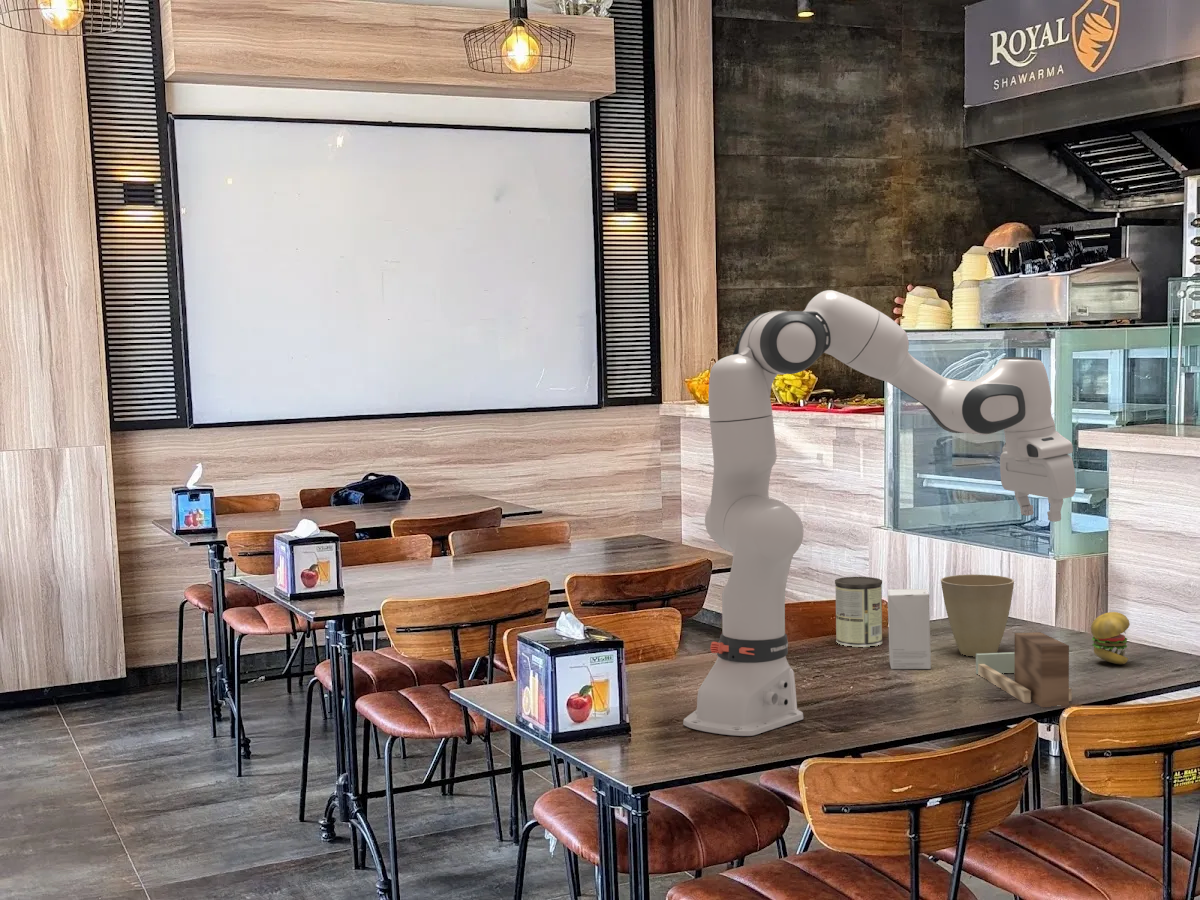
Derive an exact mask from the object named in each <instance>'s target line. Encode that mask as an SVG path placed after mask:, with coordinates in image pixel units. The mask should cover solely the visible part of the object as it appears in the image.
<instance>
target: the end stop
mask: <svg viewBox="0 0 1200 900" xmlns="http://www.w3.org/2000/svg"><path fill="white" fill-rule="evenodd" d="M978 664H985V665H987V666H989V667H990V668H992V669H994V670H996V671H997V672H999V673H1001V674H1002V673H1003V675H1005V674H1004V673H1014V672H1015V651H1013V652H1010V651H1009V652H997V653H981V654H976V657H975V674H976V675H977V674H978Z"/></svg>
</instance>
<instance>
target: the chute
mask: <svg viewBox="0 0 1200 900" xmlns="http://www.w3.org/2000/svg"><path fill="white" fill-rule="evenodd" d="M979 675H980V676H979ZM978 676H979V677H981V678H982V677H983V678H982V679H984V678H985V679H984V680H986V679H987V680H988V681H987V680H986V681H987V682H989V683H991V684H992V685H994V686H995V685H996V686H995V687H997V688H998V689H1000V688H1001V689H1000V690H1002V691H1004V692H1005V691H1006V692H1005V693H1008V695H1010V696H1012V697H1014V698H1015V699H1017V700H1018V701H1020V702H1022V703H1024V704H1031V702H1032V701H1031V691H1030V690H1028V689H1027V688H1025V687H1023V686H1021V685H1020V684H1018V683H1016V682H1015V681H1014V680H1013V679H1012V678H1009V677H1007V676H1006V675H1005V674H1001V673H999V672H997V671H996V670H994V669H992V668H990V667H989V666H987V665H985V664H978ZM1072 692H1073V689H1072V688H1070V687H1069V702H1073V701H1072V699H1073V698H1072V697H1073V693H1072Z"/></svg>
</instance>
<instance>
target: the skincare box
mask: <svg viewBox="0 0 1200 900" xmlns="http://www.w3.org/2000/svg"><path fill="white" fill-rule="evenodd" d="M930 595H931V594H930V593H929V592H928V590H927V588H912V589H911V588H907V589H906V588H905V589H904V588H900V589H897V588H896V589H894V588H890V589H889V588H888V589H887V614H888V615H887V616H888V617H887V618H888V620H887V621H888V625H887V626H888V654H889V655H888V658H889V660H888V661H889V666H890V669H891V670H931V669H932V660H931V659H932V658H931V657H932V656H931V623H930V622H931V621H930V618H931V617H930Z"/></svg>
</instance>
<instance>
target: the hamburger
mask: <svg viewBox="0 0 1200 900" xmlns="http://www.w3.org/2000/svg"><path fill="white" fill-rule="evenodd" d="M1097 609H1098V610H1099V611H1100V612H1102V614H1100V615H1098V616H1097V617H1095V619H1094V620H1093V621H1092V623H1091V624H1090V633H1091V634H1092V638H1091V640H1092V641H1093V643H1092V645H1091V646H1092V647H1093V653H1094V655H1095V656H1096V657H1098V659H1101V660H1103V661H1105V662H1108V663H1109V664H1111V663H1112V664H1115V665H1125V664H1126V663H1127V662H1128V661H1129V657H1127V656H1126V648H1128V645H1127V643H1128V638H1127V637H1126V636H1125V635H1124V634H1126V631H1127V630H1128V628H1129V627H1130V625H1131V624H1130V621H1129V619H1128V618H1127V616H1126V615H1125V614H1123V613H1121V612H1117V611H1109V612H1105V613H1104V610H1103V608H1102V606H1099V607H1097ZM1123 633H1124V634H1123ZM1114 648H1116V650H1115V651H1114V652H1113V649H1114ZM1119 650H1121V651H1120V652H1119ZM1118 652H1119V653H1118Z"/></svg>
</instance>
